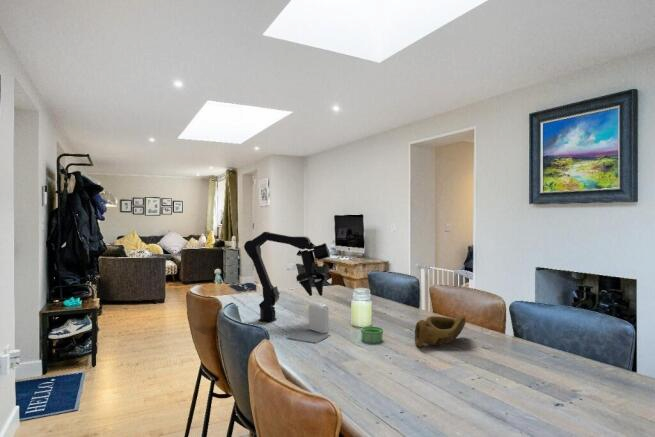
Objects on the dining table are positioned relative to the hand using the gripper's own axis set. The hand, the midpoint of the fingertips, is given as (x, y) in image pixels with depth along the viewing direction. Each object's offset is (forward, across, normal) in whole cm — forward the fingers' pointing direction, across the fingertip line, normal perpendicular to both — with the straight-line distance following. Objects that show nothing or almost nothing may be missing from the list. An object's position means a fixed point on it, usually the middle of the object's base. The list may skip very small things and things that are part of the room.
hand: (316, 295), depth 180 cm
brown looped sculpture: (+32, +4, -49) cm, 58 cm away
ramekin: (+24, -6, -24) cm, 35 cm away
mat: (+17, -16, -1) cm, 23 cm away
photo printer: (+16, -6, 0) cm, 17 cm away
